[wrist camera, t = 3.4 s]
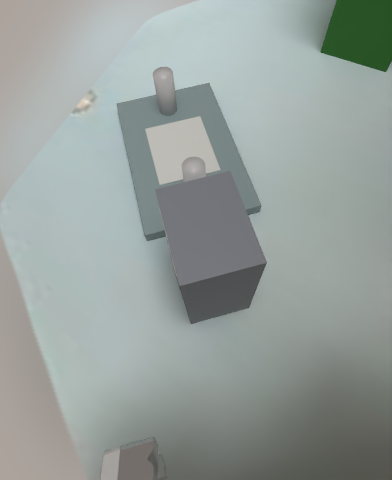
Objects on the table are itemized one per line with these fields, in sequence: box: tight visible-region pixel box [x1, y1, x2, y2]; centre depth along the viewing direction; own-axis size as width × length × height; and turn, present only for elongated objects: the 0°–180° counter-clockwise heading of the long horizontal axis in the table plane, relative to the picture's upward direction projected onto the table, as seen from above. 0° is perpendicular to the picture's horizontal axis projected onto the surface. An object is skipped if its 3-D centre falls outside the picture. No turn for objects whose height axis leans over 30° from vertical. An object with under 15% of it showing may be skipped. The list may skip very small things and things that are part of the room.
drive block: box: [155, 171, 267, 324], centre depth 21 cm, size 6×5×9 cm
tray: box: [117, 67, 261, 241], centre depth 28 cm, size 16×10×5 cm, turn 15°
